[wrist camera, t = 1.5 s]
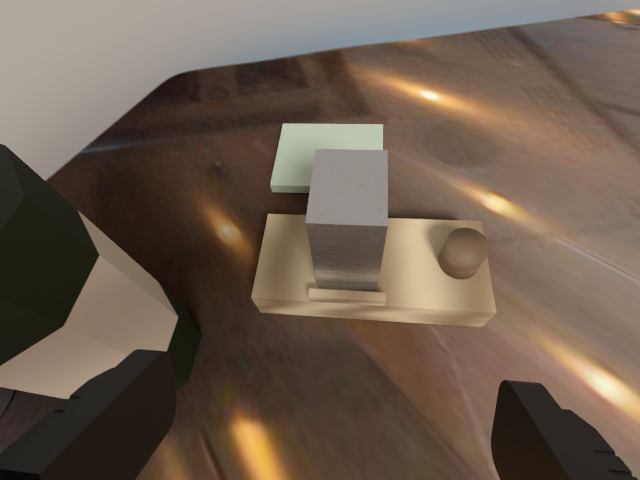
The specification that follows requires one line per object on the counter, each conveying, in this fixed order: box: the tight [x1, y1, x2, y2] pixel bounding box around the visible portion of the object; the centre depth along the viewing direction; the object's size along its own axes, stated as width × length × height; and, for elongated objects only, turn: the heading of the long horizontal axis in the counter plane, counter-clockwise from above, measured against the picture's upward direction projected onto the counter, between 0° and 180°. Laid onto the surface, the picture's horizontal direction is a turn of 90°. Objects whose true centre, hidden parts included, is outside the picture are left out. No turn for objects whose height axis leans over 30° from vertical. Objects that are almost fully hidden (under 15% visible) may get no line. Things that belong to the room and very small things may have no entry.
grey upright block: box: [305, 149, 388, 291], centre depth 22 cm, size 4×6×8 cm
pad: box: [270, 124, 383, 193], centre depth 34 cm, size 10×8×1 cm
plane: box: [251, 214, 496, 327], centre depth 25 cm, size 16×7×5 cm, turn 85°
